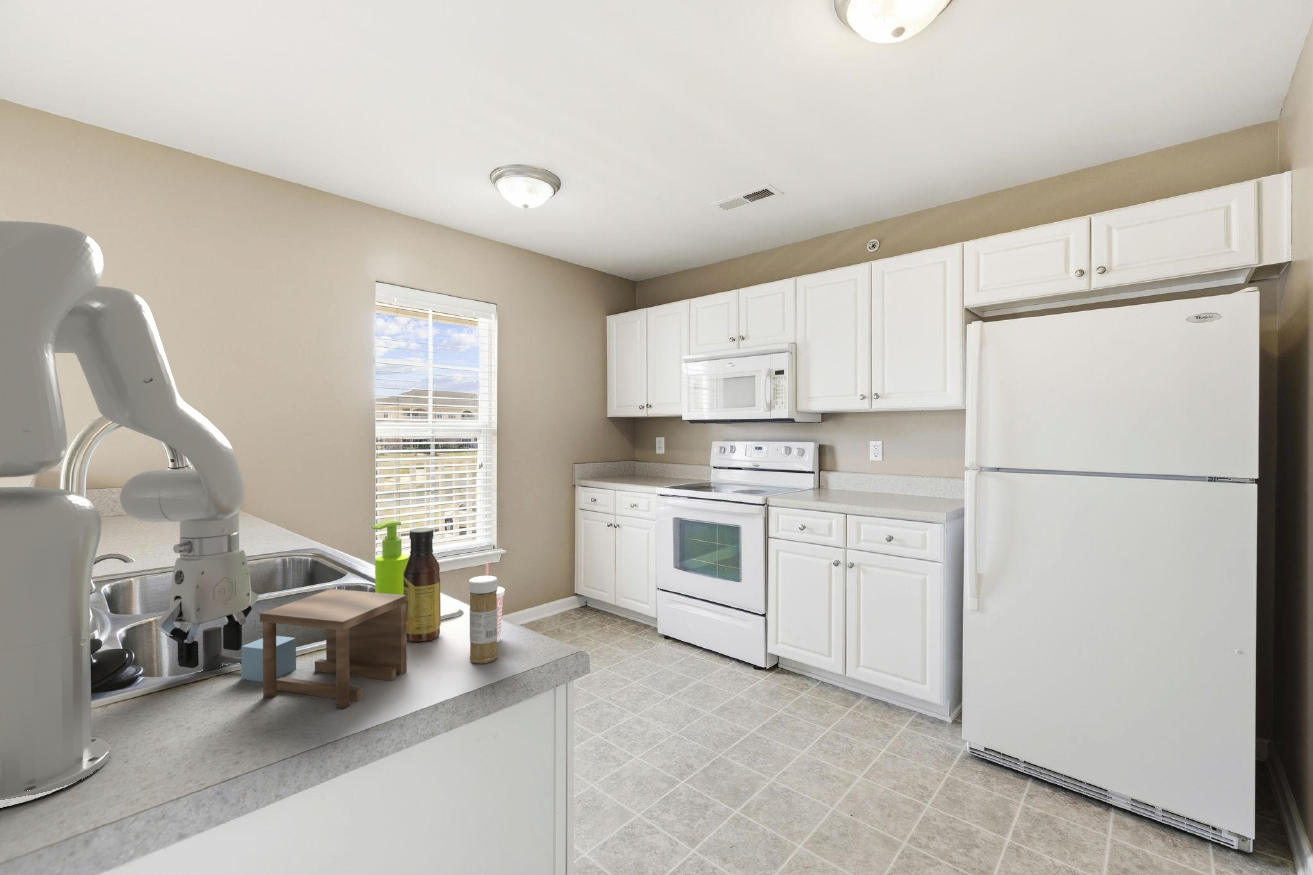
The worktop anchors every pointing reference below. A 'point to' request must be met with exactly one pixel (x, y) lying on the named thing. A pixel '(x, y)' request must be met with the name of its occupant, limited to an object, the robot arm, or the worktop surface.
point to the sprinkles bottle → (483, 619)
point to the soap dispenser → (390, 562)
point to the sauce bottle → (422, 588)
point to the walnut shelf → (341, 641)
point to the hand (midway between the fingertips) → (211, 656)
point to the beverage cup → (499, 605)
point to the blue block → (248, 655)
